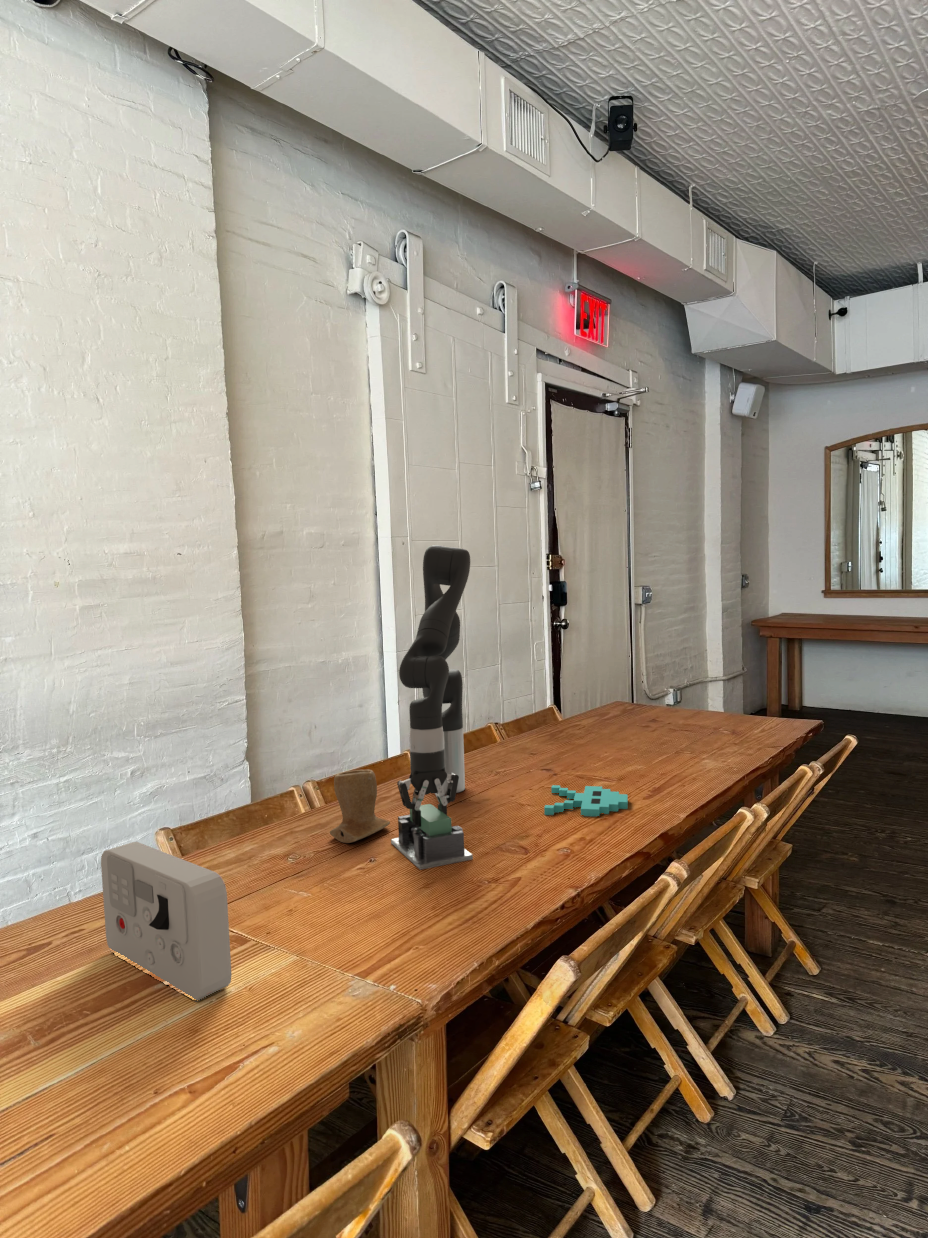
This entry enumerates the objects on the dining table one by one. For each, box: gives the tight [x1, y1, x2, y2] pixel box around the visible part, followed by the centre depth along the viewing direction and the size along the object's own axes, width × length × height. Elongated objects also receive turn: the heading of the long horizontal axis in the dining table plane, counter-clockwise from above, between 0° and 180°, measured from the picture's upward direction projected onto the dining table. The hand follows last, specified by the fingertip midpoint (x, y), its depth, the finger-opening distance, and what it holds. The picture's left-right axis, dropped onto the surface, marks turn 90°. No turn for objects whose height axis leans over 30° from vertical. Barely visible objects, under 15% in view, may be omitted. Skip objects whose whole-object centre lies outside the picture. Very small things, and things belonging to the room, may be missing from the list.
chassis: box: [390, 814, 474, 870], centre depth 182 cm, size 18×12×6 cm, turn 24°
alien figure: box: [543, 784, 629, 817], centre depth 213 cm, size 20×2×20 cm
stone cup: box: [329, 769, 391, 844], centre depth 195 cm, size 15×12×15 cm
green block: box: [409, 803, 452, 836], centre depth 182 cm, size 12×5×3 cm, turn 24°
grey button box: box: [100, 841, 232, 1001], centre depth 131 cm, size 29×8×18 cm, turn 50°
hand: (429, 823), depth 182 cm, fingers closed on green block, 5 cm apart
